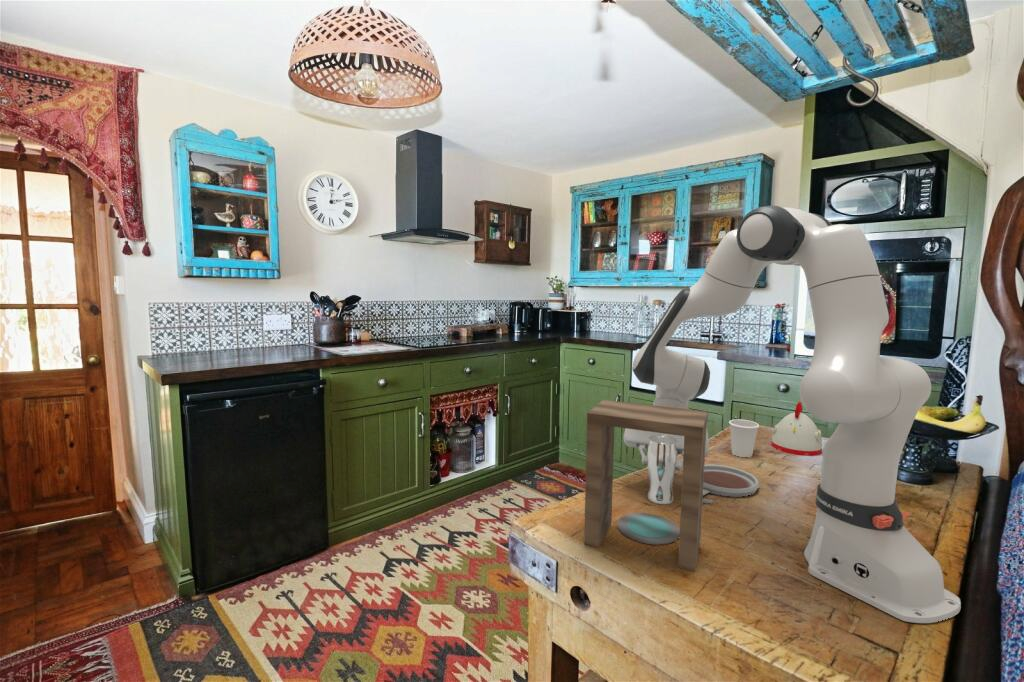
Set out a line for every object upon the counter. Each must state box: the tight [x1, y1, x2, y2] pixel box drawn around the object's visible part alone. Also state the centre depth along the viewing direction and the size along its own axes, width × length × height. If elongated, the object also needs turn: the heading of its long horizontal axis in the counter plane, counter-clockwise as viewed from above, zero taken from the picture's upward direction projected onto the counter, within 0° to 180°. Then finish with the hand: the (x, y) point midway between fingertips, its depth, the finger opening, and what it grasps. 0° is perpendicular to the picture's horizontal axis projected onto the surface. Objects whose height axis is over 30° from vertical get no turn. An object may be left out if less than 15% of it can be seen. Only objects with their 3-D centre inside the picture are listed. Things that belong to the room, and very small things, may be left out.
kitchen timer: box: [771, 401, 823, 457], centre depth 153 cm, size 14×14×15 cm
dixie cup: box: [728, 418, 760, 458], centre depth 147 cm, size 8×8×10 cm
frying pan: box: [681, 463, 760, 505], centre depth 122 cm, size 17×3×28 cm
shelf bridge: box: [583, 399, 709, 572], centre depth 99 cm, size 18×21×27 cm
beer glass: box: [646, 435, 678, 505], centre depth 116 cm, size 7×7×15 cm
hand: (661, 466), depth 115 cm, fingers closed on beer glass, 6 cm apart
